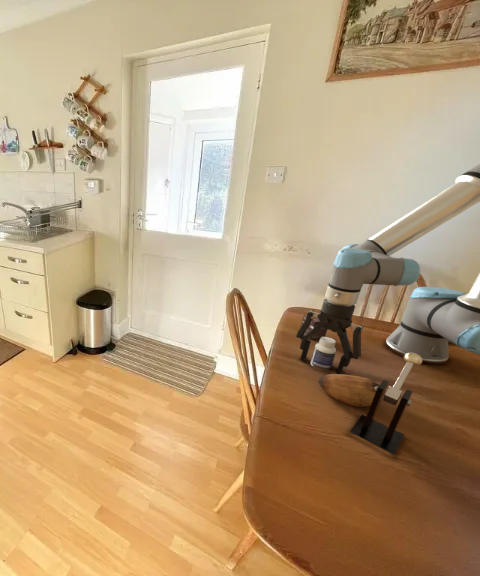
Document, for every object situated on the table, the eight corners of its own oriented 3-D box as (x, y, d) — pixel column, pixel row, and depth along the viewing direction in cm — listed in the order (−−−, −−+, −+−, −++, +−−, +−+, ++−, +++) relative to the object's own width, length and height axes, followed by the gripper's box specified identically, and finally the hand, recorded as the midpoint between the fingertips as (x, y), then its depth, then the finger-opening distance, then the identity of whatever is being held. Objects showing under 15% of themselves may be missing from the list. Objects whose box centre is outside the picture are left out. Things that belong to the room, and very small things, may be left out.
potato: (319, 405, 88) (319, 378, 92) (383, 416, 80) (380, 386, 84) (317, 394, 83) (317, 367, 87) (386, 404, 75) (383, 374, 79)
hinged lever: (404, 356, 76) (407, 347, 74) (422, 362, 74) (425, 353, 72) (379, 400, 71) (381, 392, 69) (398, 408, 68) (401, 400, 67)
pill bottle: (333, 372, 97) (342, 345, 93) (314, 370, 98) (322, 343, 94) (325, 362, 101) (333, 336, 98) (307, 360, 102) (314, 334, 99)
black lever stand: (360, 417, 79) (378, 372, 74) (402, 438, 73) (424, 390, 68) (348, 434, 74) (366, 387, 69) (392, 458, 68) (415, 408, 63)
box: (298, 331, 121) (302, 314, 118) (312, 330, 121) (317, 313, 119) (310, 339, 115) (315, 321, 112) (325, 338, 116) (330, 320, 113)
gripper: (293, 293, 97) (279, 354, 106) (384, 318, 81) (358, 388, 89) (304, 288, 102) (289, 347, 110) (392, 311, 85) (366, 378, 93)
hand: (320, 366), depth 99 cm, fingers open, 9 cm apart
